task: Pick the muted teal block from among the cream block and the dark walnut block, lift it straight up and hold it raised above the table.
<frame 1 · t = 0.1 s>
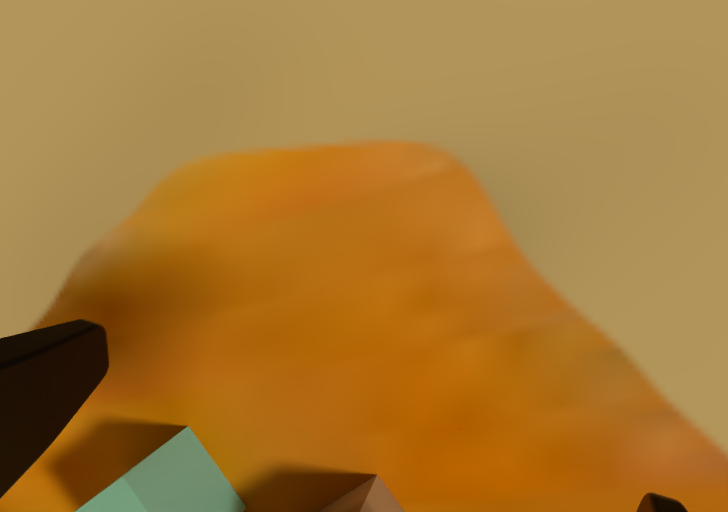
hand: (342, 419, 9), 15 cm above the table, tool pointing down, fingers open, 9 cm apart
teal block: (185, 488, 29), on the table
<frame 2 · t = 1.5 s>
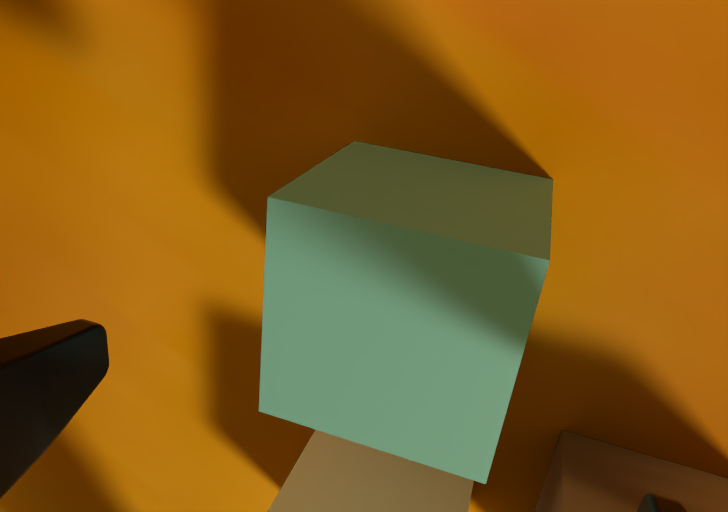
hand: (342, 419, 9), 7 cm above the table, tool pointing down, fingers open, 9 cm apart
teal block: (433, 249, 15), on the table
cream block: (389, 490, 19), on the table
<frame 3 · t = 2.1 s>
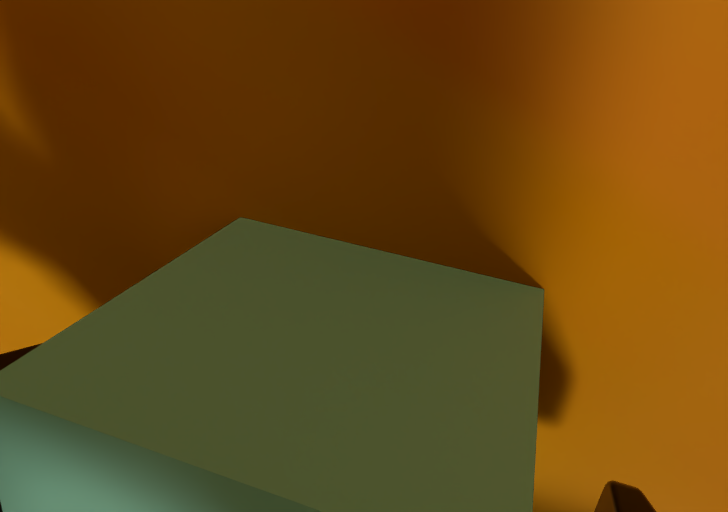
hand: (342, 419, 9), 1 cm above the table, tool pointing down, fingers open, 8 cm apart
teal block: (365, 375, 10), on the table
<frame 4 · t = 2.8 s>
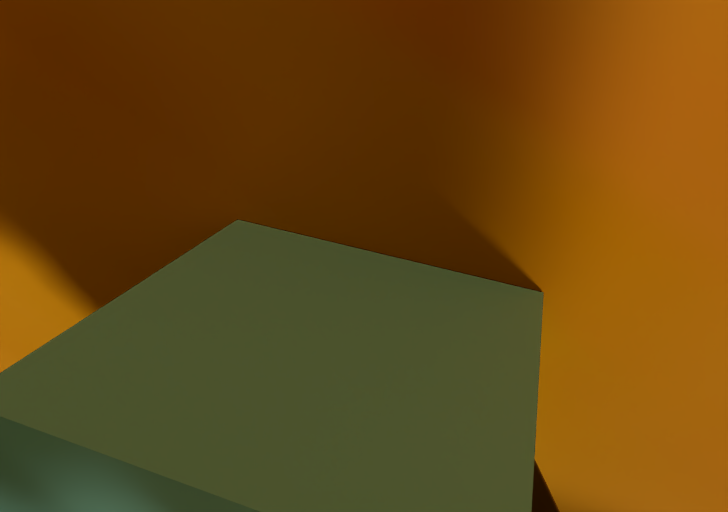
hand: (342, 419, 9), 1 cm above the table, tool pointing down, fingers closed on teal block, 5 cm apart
teal block: (362, 381, 10), on the table, touching gripper
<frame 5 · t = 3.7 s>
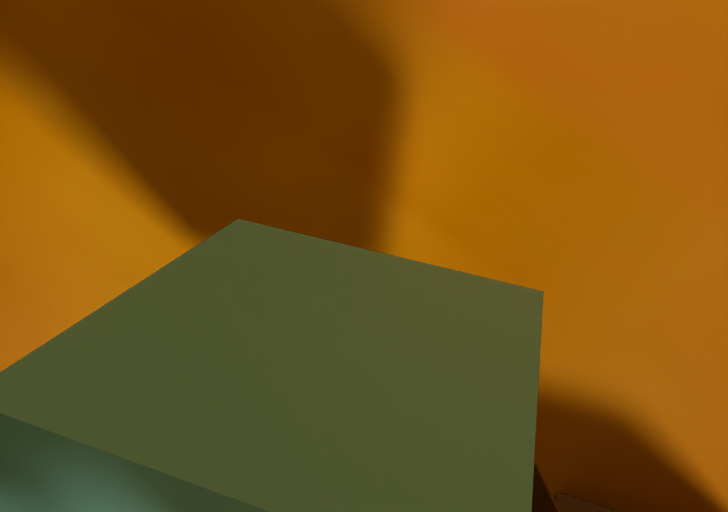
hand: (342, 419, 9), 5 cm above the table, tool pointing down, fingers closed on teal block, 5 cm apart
teal block: (362, 380, 10), point 4 cm above the table, touching gripper
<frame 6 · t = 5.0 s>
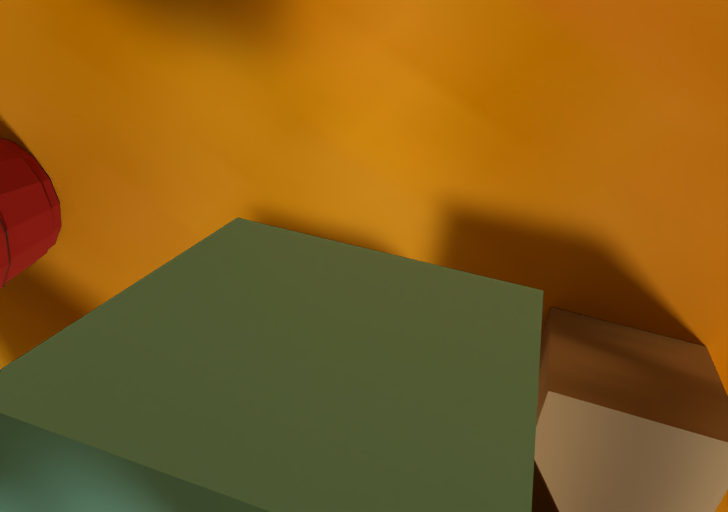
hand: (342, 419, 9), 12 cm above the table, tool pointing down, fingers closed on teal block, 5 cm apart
teal block: (362, 380, 10), point 11 cm above the table, touching gripper
walnut block: (603, 383, 20), on the table
plastic cup: (16, 201, 26), on the table
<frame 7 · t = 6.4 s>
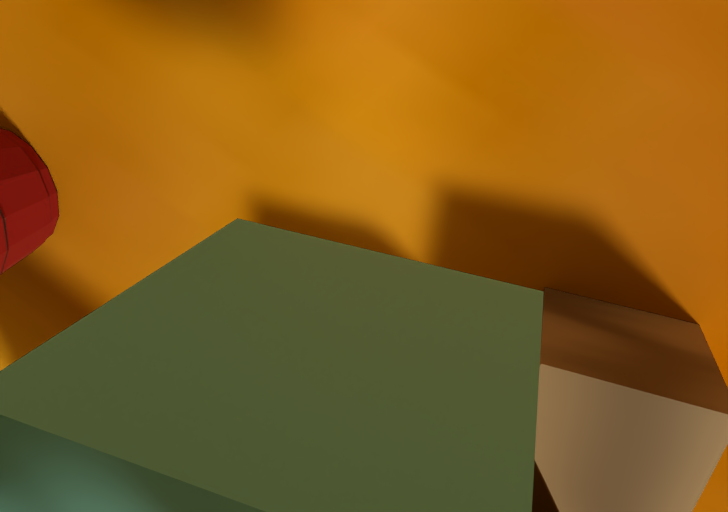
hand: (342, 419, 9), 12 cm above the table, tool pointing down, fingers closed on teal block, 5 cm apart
teal block: (362, 380, 10), point 11 cm above the table, touching gripper
walnut block: (597, 363, 20), on the table
plastic cup: (14, 191, 26), on the table
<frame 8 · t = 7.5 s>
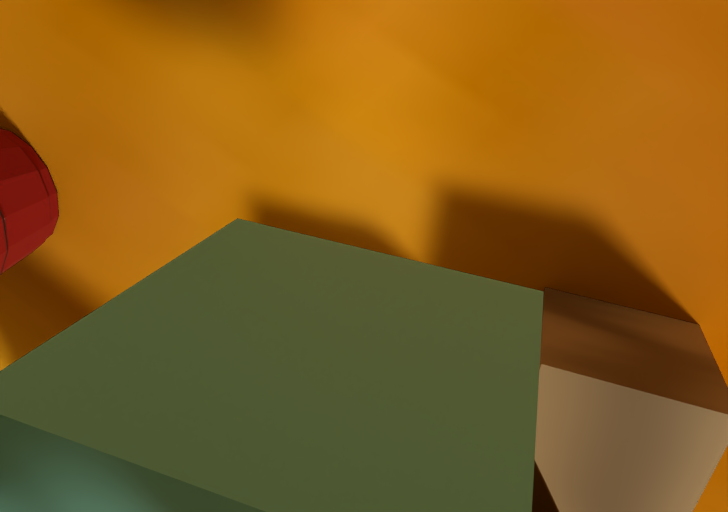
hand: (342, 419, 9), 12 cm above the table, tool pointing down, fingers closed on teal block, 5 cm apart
teal block: (362, 380, 10), point 11 cm above the table, touching gripper
walnut block: (597, 363, 20), on the table
plastic cup: (14, 191, 26), on the table
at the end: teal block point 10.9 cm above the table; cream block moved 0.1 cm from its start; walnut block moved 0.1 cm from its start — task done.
